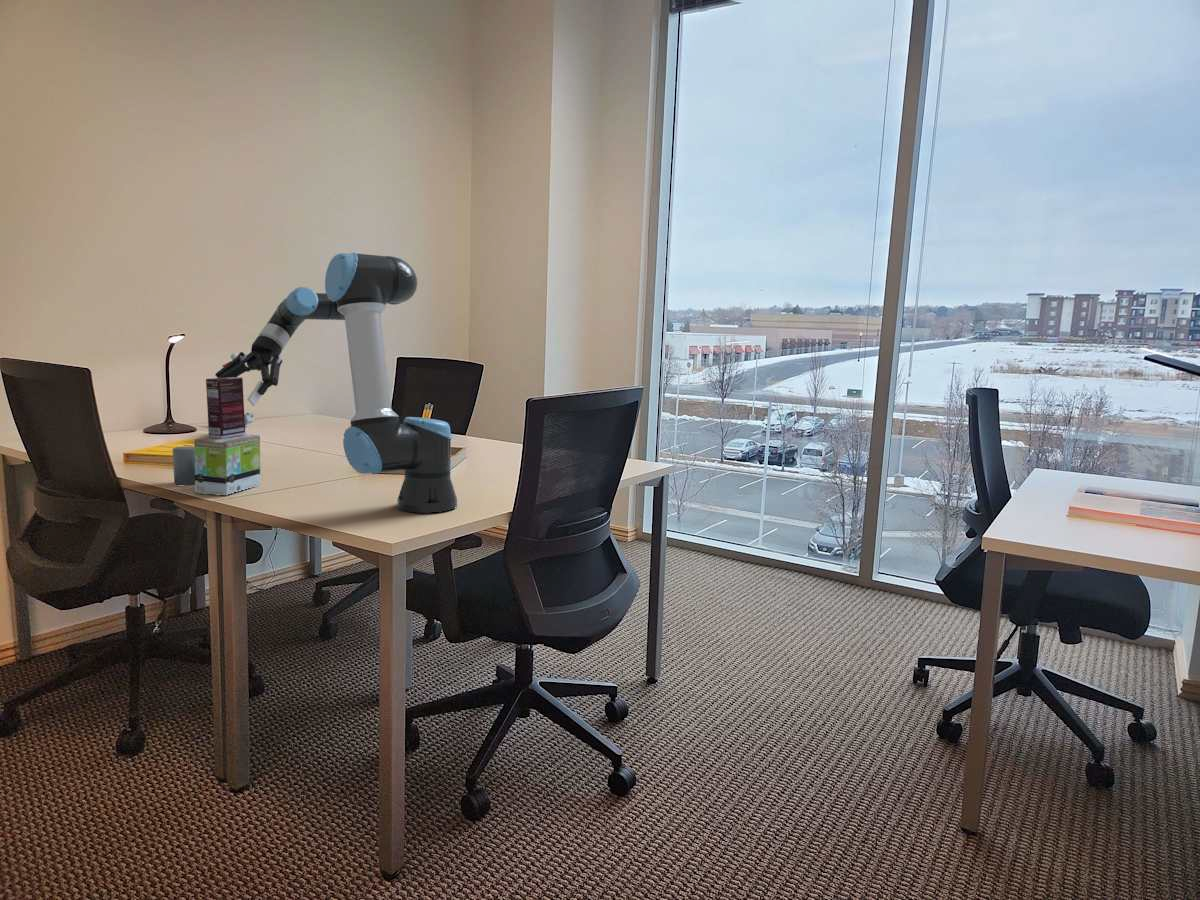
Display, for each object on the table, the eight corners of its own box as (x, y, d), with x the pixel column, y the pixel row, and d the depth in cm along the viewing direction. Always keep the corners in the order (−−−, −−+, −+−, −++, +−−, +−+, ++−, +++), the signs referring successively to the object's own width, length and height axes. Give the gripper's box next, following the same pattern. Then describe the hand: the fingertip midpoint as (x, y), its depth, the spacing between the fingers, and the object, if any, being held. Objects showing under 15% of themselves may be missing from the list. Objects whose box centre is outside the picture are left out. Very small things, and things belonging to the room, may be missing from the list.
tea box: (227, 497, 220) (225, 441, 217) (194, 493, 222) (191, 439, 219) (262, 486, 234) (260, 433, 232) (230, 483, 236) (228, 431, 234)
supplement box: (232, 433, 230) (230, 376, 228) (246, 435, 228) (244, 377, 226) (207, 437, 222) (204, 378, 220) (221, 439, 221) (218, 379, 218)
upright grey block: (207, 482, 235) (206, 447, 234) (187, 487, 229) (185, 451, 227) (189, 479, 238) (187, 445, 236) (168, 484, 231) (166, 448, 230)
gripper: (312, 354, 236) (275, 413, 224) (243, 350, 245) (204, 406, 233) (298, 336, 230) (260, 395, 219) (228, 332, 239) (188, 388, 228)
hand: (231, 400), depth 226 cm, fingers open, 13 cm apart
